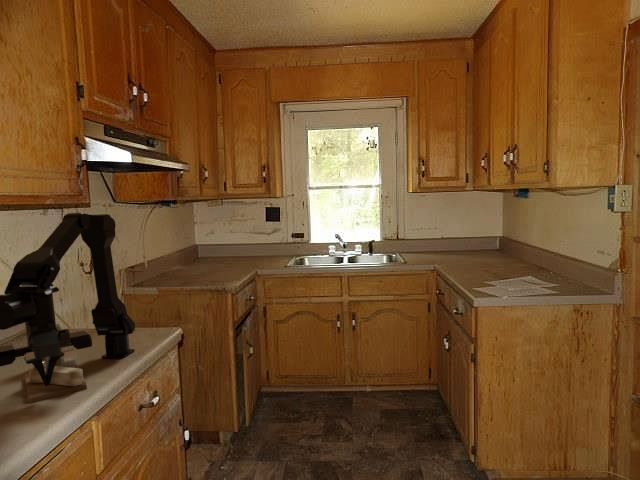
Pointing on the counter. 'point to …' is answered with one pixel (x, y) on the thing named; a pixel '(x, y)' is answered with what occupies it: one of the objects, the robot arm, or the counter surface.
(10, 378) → the counter surface
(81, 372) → the latch arm
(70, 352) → the keeper
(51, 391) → the base plate
